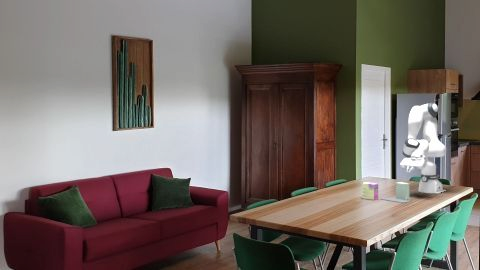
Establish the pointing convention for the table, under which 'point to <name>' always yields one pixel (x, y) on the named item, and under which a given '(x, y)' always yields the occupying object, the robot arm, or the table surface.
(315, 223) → the table surface
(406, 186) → the block
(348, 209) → the table surface
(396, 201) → the mat
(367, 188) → the box
